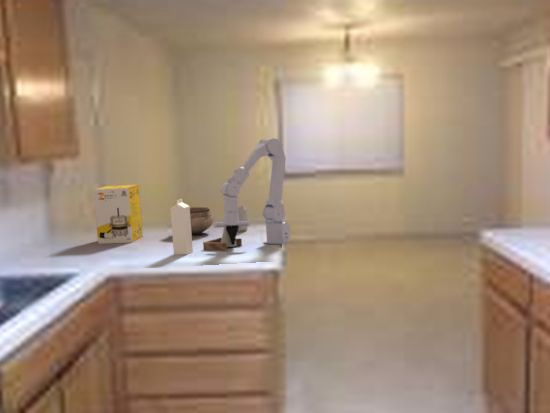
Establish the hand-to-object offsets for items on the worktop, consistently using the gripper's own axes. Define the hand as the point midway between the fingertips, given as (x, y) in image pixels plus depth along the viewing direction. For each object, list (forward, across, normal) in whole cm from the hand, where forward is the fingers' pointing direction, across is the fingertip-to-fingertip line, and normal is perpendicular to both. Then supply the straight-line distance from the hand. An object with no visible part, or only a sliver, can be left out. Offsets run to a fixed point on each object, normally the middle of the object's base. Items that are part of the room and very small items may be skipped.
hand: (233, 244), depth 292 cm
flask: (+2, +3, -3) cm, 4 cm away
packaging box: (+2, +58, -35) cm, 68 cm away
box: (+2, +4, -2) cm, 5 cm away
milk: (+2, +20, +7) cm, 21 cm away
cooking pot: (+2, +25, -43) cm, 50 cm away
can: (+2, +3, -48) cm, 48 cm away
